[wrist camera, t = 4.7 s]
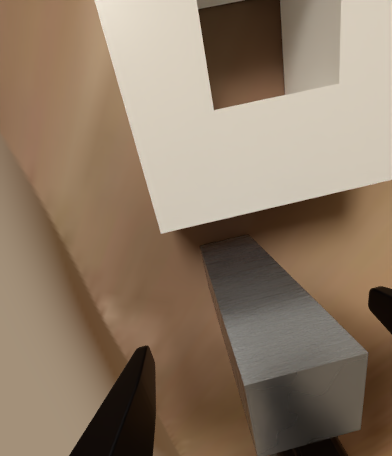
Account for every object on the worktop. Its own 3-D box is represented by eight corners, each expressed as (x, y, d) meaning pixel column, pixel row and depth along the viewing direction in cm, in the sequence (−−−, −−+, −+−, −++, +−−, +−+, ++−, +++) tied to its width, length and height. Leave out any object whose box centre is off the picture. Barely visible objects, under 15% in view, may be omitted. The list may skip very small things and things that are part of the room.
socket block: (336, 172, 12) (401, 177, 8) (164, 211, 11) (161, 233, 8) (344, -154, 8) (474, -389, 4) (78, -108, 7) (0, -328, 4)
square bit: (253, 276, 13) (360, 429, 6) (209, 287, 13) (257, 458, 6) (248, 234, 12) (368, 352, 5) (199, 245, 12) (243, 385, 5)
